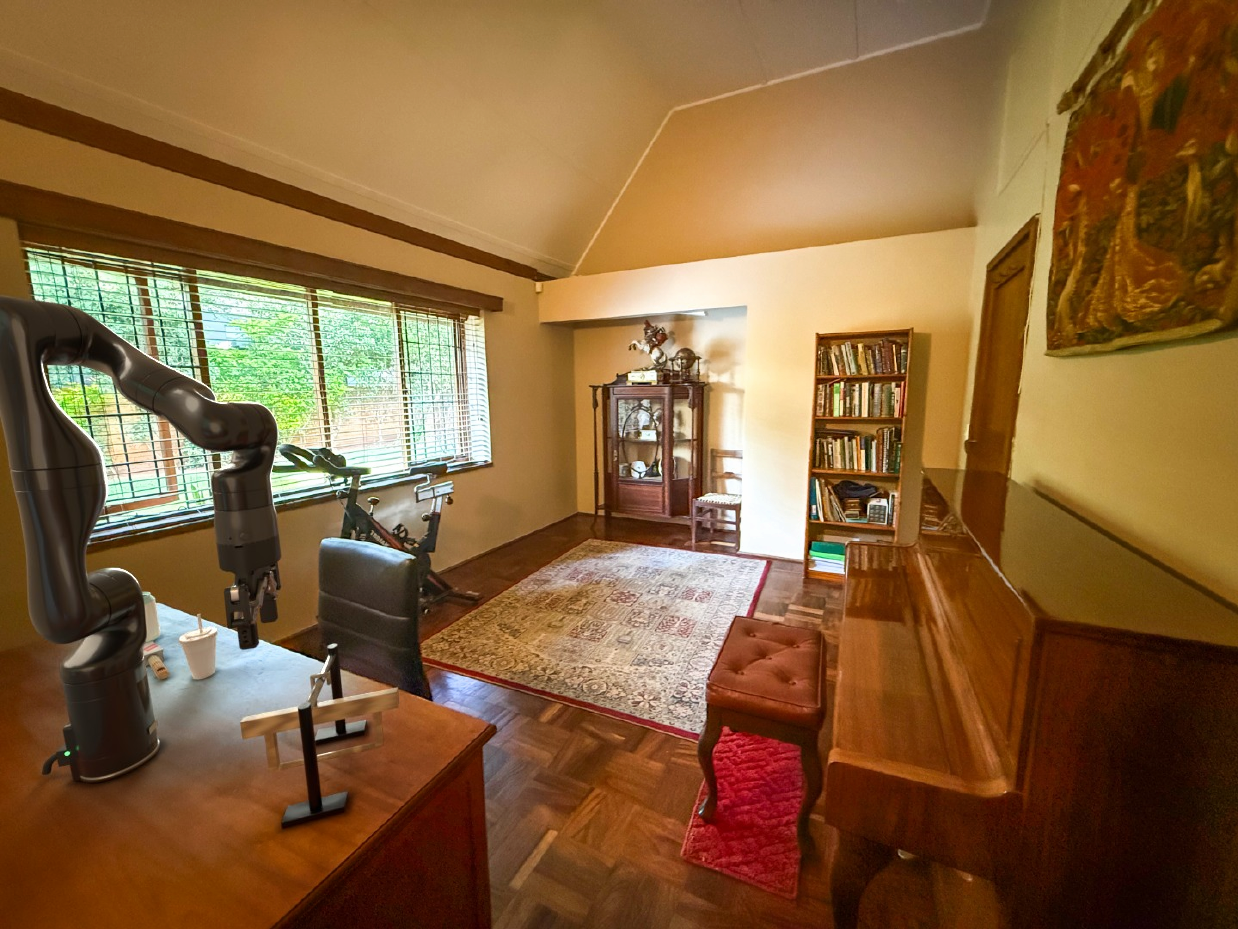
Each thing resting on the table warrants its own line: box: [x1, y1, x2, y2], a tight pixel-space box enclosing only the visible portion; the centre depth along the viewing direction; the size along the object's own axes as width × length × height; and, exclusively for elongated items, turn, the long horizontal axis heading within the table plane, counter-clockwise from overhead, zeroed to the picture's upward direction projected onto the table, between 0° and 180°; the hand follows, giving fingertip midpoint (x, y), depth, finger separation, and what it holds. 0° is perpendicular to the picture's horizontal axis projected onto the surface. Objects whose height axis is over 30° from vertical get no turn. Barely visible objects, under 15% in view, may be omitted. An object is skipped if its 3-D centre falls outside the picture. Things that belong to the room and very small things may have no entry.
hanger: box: [239, 671, 400, 773], centre depth 76 cm, size 22×1×15 cm, turn 110°
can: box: [142, 591, 162, 643], centre depth 117 cm, size 7×7×12 cm
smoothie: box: [178, 613, 219, 680], centre depth 103 cm, size 6×6×14 cm
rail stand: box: [280, 643, 368, 830], centre depth 76 cm, size 8×20×18 cm, turn 20°
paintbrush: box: [143, 641, 170, 680], centre depth 108 cm, size 4×3×20 cm
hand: (260, 634), depth 73 cm, fingers open, 8 cm apart
